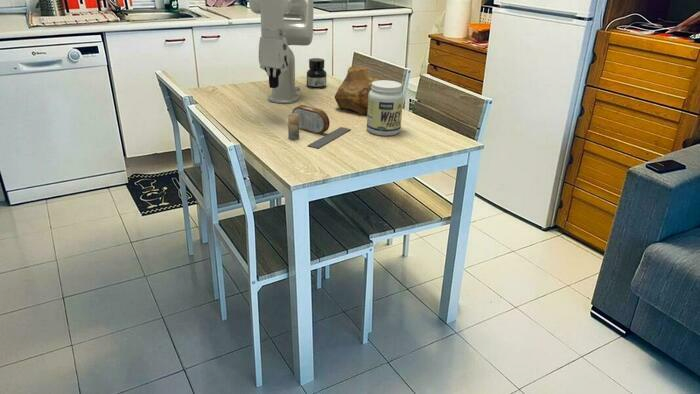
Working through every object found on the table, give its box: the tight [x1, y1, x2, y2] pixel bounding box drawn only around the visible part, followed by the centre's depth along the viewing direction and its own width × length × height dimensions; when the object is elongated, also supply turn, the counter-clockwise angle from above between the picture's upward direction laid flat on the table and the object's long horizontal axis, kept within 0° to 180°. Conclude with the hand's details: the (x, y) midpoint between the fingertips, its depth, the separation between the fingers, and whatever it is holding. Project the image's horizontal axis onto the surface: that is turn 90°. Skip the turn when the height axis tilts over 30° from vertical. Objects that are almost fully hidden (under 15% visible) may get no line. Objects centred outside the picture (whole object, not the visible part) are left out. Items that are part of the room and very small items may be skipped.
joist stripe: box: [307, 126, 352, 150], centre depth 180 cm, size 22×4×1 cm, turn 152°
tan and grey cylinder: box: [287, 113, 300, 141], centre depth 177 cm, size 4×4×8 cm
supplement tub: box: [366, 79, 404, 137], centre depth 185 cm, size 12×12×17 cm
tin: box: [291, 104, 331, 135], centre depth 184 cm, size 15×3×8 cm, turn 55°
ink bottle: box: [306, 57, 328, 89], centre depth 237 cm, size 10×9×12 cm
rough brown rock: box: [334, 66, 381, 116], centre depth 208 cm, size 23×17×15 cm
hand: (274, 87), depth 187 cm, fingers closed
